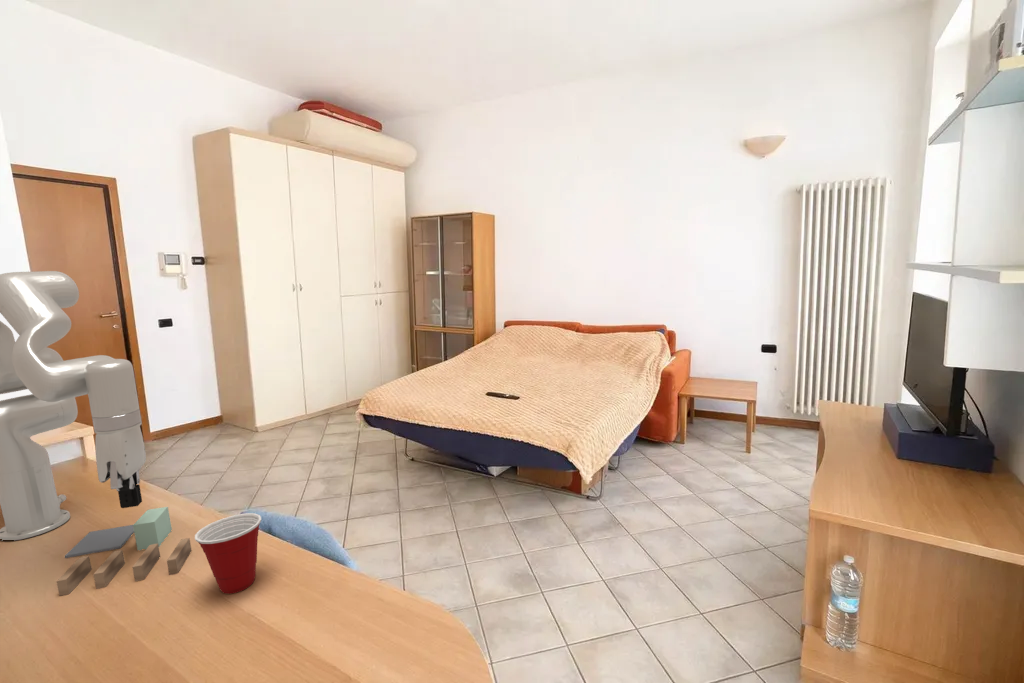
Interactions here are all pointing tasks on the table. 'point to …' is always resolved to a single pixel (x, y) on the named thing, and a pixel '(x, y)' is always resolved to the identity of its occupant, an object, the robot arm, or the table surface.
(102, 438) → the robot arm
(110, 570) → the rack
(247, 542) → the plastic cup
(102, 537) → the pad
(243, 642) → the table surface
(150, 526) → the block
